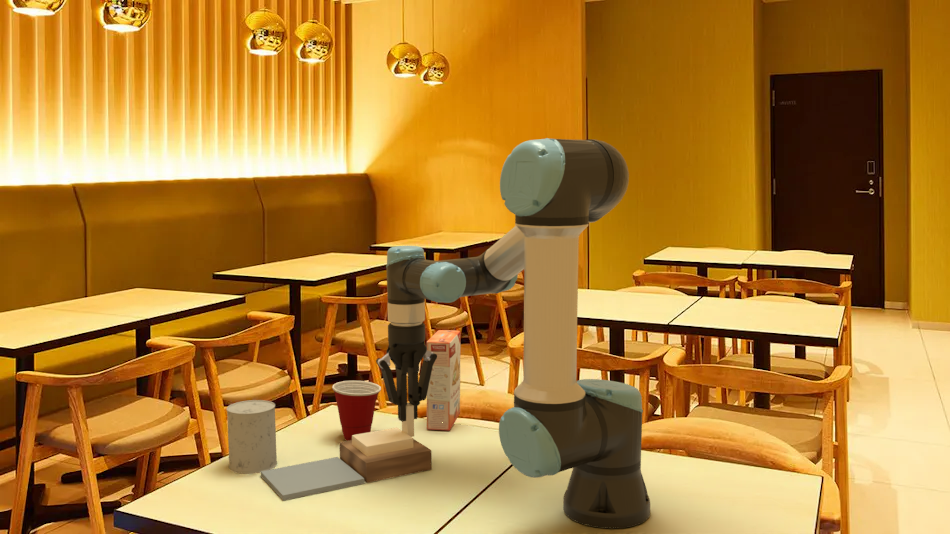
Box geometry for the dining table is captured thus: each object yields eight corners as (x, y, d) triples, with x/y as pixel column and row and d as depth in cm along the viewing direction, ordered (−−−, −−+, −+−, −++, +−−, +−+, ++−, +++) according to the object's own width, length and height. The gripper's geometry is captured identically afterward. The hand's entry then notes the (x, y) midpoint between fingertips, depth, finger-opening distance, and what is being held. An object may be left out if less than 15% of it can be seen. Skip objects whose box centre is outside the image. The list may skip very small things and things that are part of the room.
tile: (413, 447, 172) (413, 438, 172) (367, 456, 167) (366, 446, 167) (396, 436, 179) (396, 427, 179) (352, 444, 174) (351, 435, 174)
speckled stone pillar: (219, 465, 174) (217, 407, 172) (260, 453, 181) (258, 397, 179) (245, 477, 168) (243, 416, 166) (286, 464, 175) (284, 406, 173)
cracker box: (451, 431, 195) (451, 341, 192) (425, 430, 196) (424, 341, 193) (462, 413, 209) (461, 329, 206) (437, 412, 209) (437, 328, 207)
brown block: (431, 469, 171) (431, 450, 171) (366, 483, 164) (366, 462, 164) (401, 449, 183) (401, 431, 183) (339, 461, 176) (339, 442, 176)
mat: (364, 483, 164) (364, 478, 164) (283, 500, 156) (283, 495, 156) (337, 461, 176) (337, 456, 176) (260, 476, 168) (260, 471, 168)
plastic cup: (376, 446, 185) (375, 392, 184) (327, 445, 186) (326, 391, 185) (386, 430, 196) (385, 379, 194) (340, 429, 197) (338, 378, 195)
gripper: (427, 316, 179) (428, 425, 182) (369, 322, 173) (371, 435, 176) (443, 322, 173) (444, 435, 176) (384, 329, 166) (386, 445, 170)
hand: (408, 435), depth 176 cm, fingers closed
